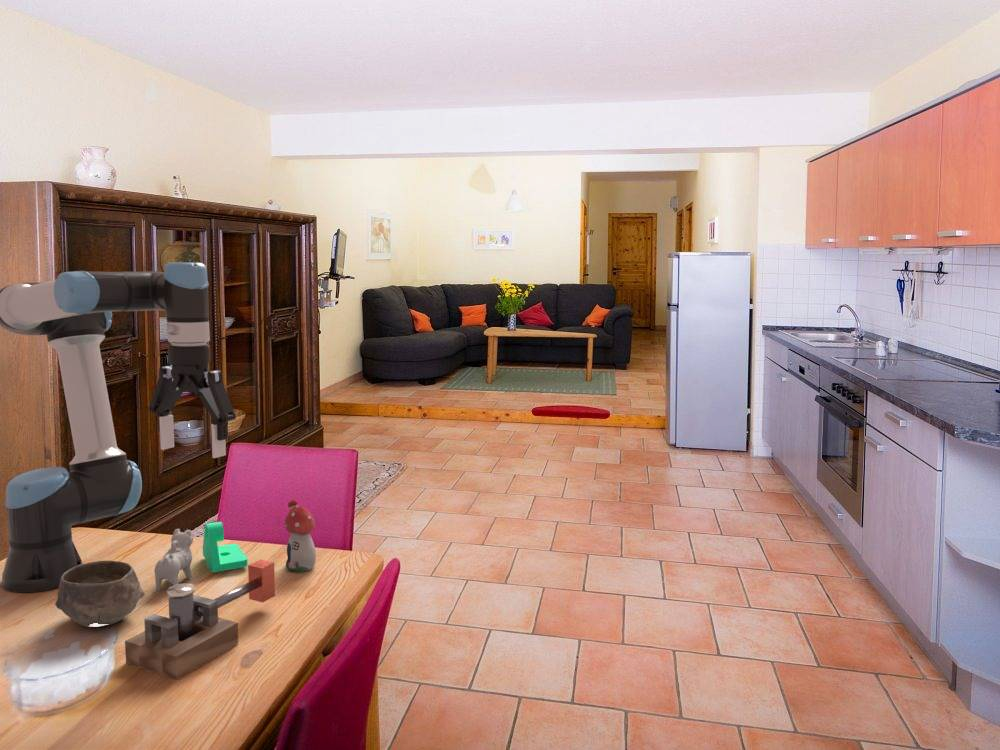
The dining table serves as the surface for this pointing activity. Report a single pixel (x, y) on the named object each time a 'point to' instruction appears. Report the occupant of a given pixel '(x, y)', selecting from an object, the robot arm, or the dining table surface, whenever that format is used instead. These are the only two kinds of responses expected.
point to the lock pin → (252, 585)
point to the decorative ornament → (300, 539)
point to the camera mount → (221, 550)
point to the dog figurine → (175, 559)
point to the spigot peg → (182, 609)
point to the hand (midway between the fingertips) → (192, 452)
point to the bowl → (99, 592)
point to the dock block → (180, 657)
